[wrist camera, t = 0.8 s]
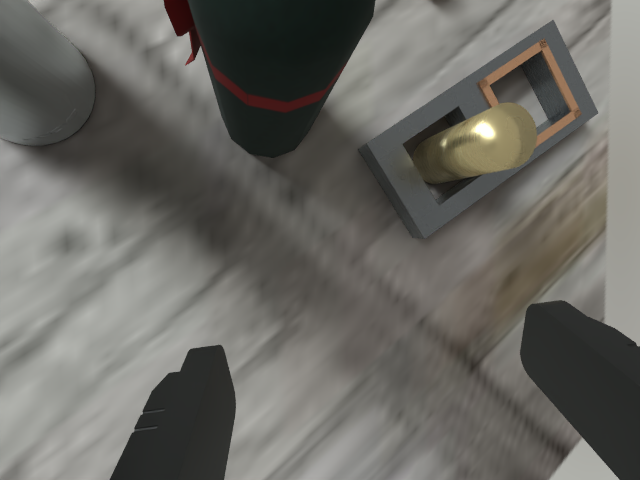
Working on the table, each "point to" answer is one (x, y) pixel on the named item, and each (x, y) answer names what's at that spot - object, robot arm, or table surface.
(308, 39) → the wine bottle
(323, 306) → the table surface
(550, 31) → the grey flat frame
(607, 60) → the table surface
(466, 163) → the brass peg
